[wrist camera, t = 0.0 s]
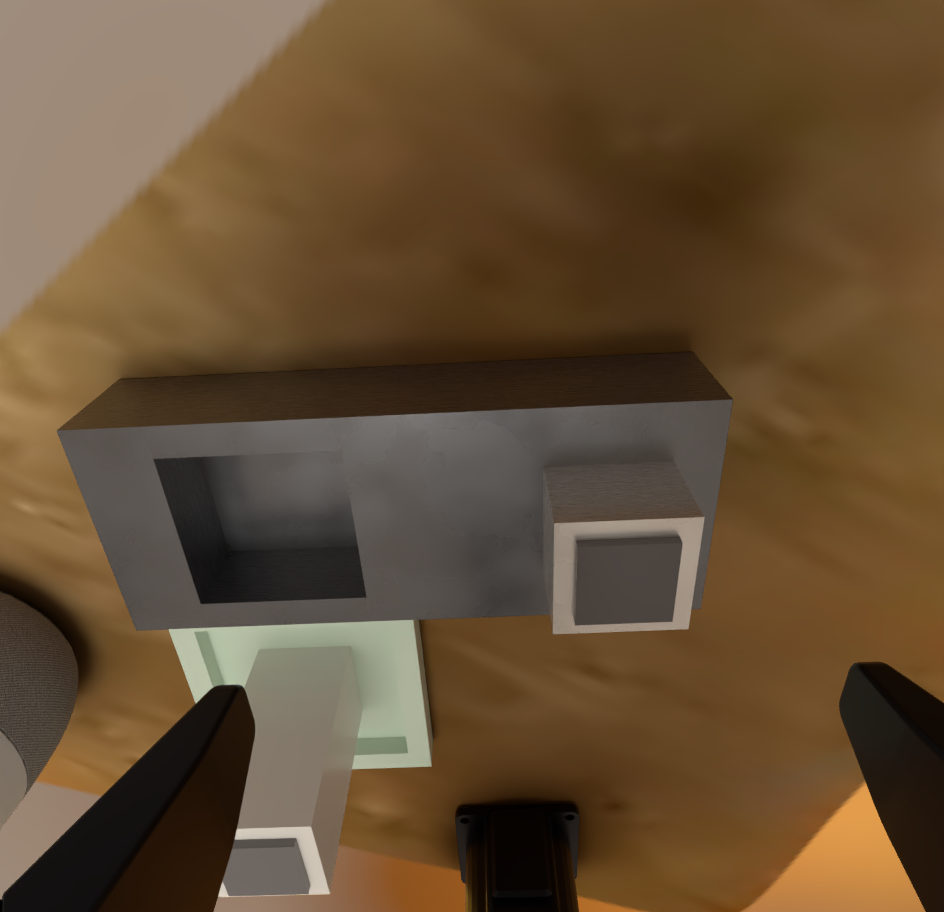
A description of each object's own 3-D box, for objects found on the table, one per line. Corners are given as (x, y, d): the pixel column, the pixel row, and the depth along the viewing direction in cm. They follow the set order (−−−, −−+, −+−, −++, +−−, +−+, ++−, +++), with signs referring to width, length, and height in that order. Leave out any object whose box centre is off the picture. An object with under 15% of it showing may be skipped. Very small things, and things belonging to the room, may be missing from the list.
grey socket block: (692, 351, 23) (779, 454, 16) (670, 540, 27) (733, 682, 20) (119, 379, 23) (-16, 489, 17) (179, 560, 27) (89, 705, 21)
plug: (362, 709, 30) (328, 903, 23) (276, 712, 31) (216, 906, 23) (350, 645, 28) (308, 835, 21) (258, 649, 29) (186, 839, 21)
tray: (432, 739, 32) (431, 766, 31) (231, 745, 33) (221, 773, 31) (414, 580, 28) (411, 604, 26) (177, 589, 28) (163, 614, 26)
